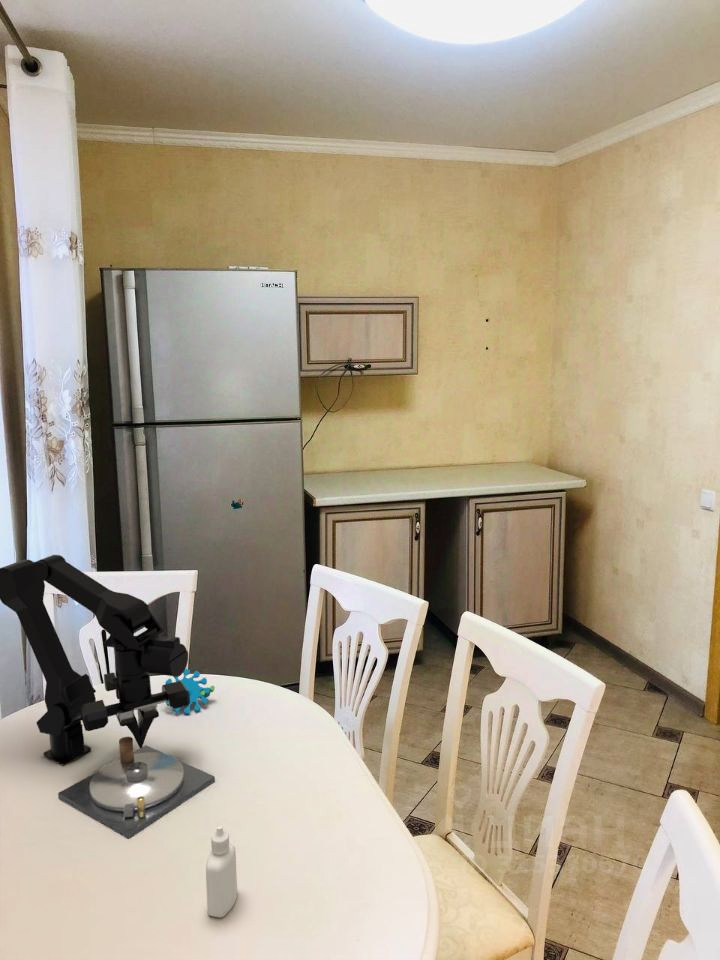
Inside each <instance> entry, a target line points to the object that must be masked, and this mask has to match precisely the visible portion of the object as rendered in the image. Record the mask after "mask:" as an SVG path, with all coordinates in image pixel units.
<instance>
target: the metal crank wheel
mask: <svg viewBox="0 0 720 960" xmlns="http://www.w3.org/2000/svg"><path fill="white" fill-rule="evenodd" d="M118 744H119V758H116V759H114V760H112V761H110V762H108V763H106V764H105V765H103V766H102V767H100V768H99V769H98V770H97V771H95V772H94V773H95V774H94V773H93V774H94V776H93V777H92V779H91V781H90V796H91V798H92V800H93V801H94V802H95V803H96V804H97V805H98V806H100V807H102V808H105V809H109V810H114V811H124V817H132V816H133V814H134V810H137V798H138V797H141V796H142V797H144V800H145V808H147V807H151V806H154V805H156V804H158V803H161V802H163V801H165V800H166V799H168V798H169V797H171V796H172V795H173V794H175V793H176V792H177V791H178V790H179V788H180V787H181V785H182V783H183V780H184V769H183V766H182V764H181V763H180V761H181V760H180V759H178V758H176V757H174V756H172V755H170V754H167V753H164V752H162V753H154V752H147V753H137V754H134V738H133V737H131V736H123V737H121V738H120V739H119V740H118ZM163 753H164V754H163ZM177 759H178V760H177ZM179 760H180V761H179Z"/></svg>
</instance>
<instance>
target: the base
mask: <svg viewBox="0 0 720 960" xmlns="http://www.w3.org/2000/svg"><path fill="white" fill-rule="evenodd" d="M133 752H134V754H137V753H147V752H154V753H163V754H165V753H164V752H162V751H160V750H158V749H156V748H153V747H151V746H150V745H146V744H144V745H143V746H142V748H137V749H136V750H133ZM176 759H177V760H179V761H180V763H181V764H182V766H183V769H184V780H183V783H182V785H181V787H180V788H179V790H178V791H177V792H176V793H175V794H173V795H172V796H171V797H169V798H168V799H166V800H165V801H163V802H161V803H158V804H156V805H154V806H151V807H147V808H145V800H144V797H142V796H141V797H138V798H137V810H134V814H133V816H132V817H124V811H114V810H109V809H105V808H102V807H100V806H98V805H97V804H96V803H95V802H94V801H93V800H92V798H91V796H90V781H91V779H92V777H93V776H94V774H95V773H96V772H94V773H92V774H91V775H88V776H86V777H85V778H83V779H81V780H79V781H77V782H76V783H74V784H72V785H70V786H69V787H67V788H65V789H63V790H61V791H60V792H57V796H58V799H59V800H61V801H63V802H64V803H65V804H68V805H70V806H71V807H73V808H75V809H76V810H77V811H80V812H81V813H83V814H85V815H87V816H88V817H90V818H91V819H94V820H95V821H97V822H99V823H101V824H103V825H104V826H105V827H108V828H109V829H111V830H113V831H114V832H116V833H118V834H120V835H121V836H123V837H125V838H127V839H130V838H131V837H134V836H135V835H136V834H138V833H139V832H141V831H142V830H144V829H145V828H147V827H149V826H150V825H151V824H153V823H154V822H156V821H157V820H159V819H161V818H162V817H164V816H165V815H167V814H169V813H170V812H171V811H172V810H174V809H175V808H178V807H179V806H180V805H182V804H183V803H185V802H187V801H188V800H189V799H191V798H192V797H194V796H195V795H196V794H199V792H201V791H202V790H204V789H206V788H207V787H209V786H210V785H212V784H213V783H215V781H216V779H215V777H216V776H214V775H213V774H211V773H208V772H206V771H203V770H202V769H199V768H197V767H195V766H193V765H191V764H188V763H187V762H185V761H181V760H180V759H178V758H176Z"/></svg>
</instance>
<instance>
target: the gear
mask: <svg viewBox="0 0 720 960" xmlns="http://www.w3.org/2000/svg"><path fill="white" fill-rule="evenodd" d="M190 672H191V670H190V669H187V668H185V670H184V672H183V673H182V674H183V677H182V678H181V679H179V677H180V676H178V677H175V676H172V677H173V678H174V679H175V682H177V681H181V682H182V683H183V684H184V685H185V687H186V688H187V690H188V691H189V695H190V704H189V705H188V706H186V708H184V709H183V714H184V715H186V716H187V715H190V713H191V705H192V704H195V705H194V709H193V711H194V712H199V711H201V709H202V708H201V705H200V704H199V702H198V699H201V704H202V705H206V704H207V703H208V701H209V699H208V698H209V697H210V696H211V693H214V691H215V688H216V687H215V685H210V687H208V686H207V687H202V686H200V684H201V685H207V683H208V681H207V680H208V679H207V678H206V677H202V679H200V680H194V679H197V678H200V676H201V673H200V672H199V671H198V670H195V671H194V673H193V675H192V676H191V677H188V678H187V676H188V675H190ZM169 683H173V680H172V678H168V679H167V680H166V681H165V683H164V685H165V684H169ZM165 703H166V704H165V705H166V706H167V707H168V706H169V707H170V705H169V701H168V702H165ZM181 708H182V707H180V708H176V709H174V708H172V710H173V712H175V713H176V714H177V713H179V711H180V709H181Z"/></svg>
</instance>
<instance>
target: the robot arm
mask: <svg viewBox="0 0 720 960" xmlns="http://www.w3.org/2000/svg"><path fill="white" fill-rule="evenodd" d="M45 582H46V583H47V584H49V585H50V586H52V587H53V588H55V589H57V590H58V591H60V592H61V593H62V594H64V595H65V596H67V597H69V598H70V599H71V600H73V601H75V602H77V604H79V605H81V606H82V607H84V608H85V609H87V610H88V611H89V612H91V613H92V614H94V616H95V617H96V620H97V622H98V625H99V626H100V627H101V628H102V629H103V630H104V631H105V632H107V634H108V635H109V636H108V638H107V639H106V640H105V641H103V643H102V645H103V647H105V648H106V647H107V648H113V652H114V653H113V654H114V662H115V663H114V664H115V670H116V671H115V672H116V673H115V672H109V673H105V674H104V673H103V681H104V689H105V691H106V692H110V691H111V692H112V691H115V695H116V696H115V697H116V699H117V700H119V702H117V703H112V704H108V705H105V702H104V700H103V699H99V700H96V695H95V693H96V692H97V690H96V689H95V688H94V687H93V685H92V682H91V679H90V676H89V675H88V673H84V674H83V675H81V674H79V673H78V672H77V671H75V670H74V669H73V667H72V666H71V663H70V660H69V658H68V656H67V654H66V652H65V649H64V647H63V645H62V642H61V640H60V637H59V636H58V633H57V630H56V628H55V626H54V624H53V622H52V619H51V617H50V614H49V612H48V610H47V607H46V605H45V602H44V597H45V591H46V589H45V587H46V584H45ZM0 601H1V603H2V604H3V605H4V606H6V607H7V608H9V610H12V611H13V612H14V613H15V614H16V615H17V618H18V619H19V623H20V625H21V627H22V629H23V631H24V634H25V636H26V638H27V640H28V643H29V645H30V647H31V649H32V652H33V654H34V657H35V659H36V661H37V663H38V666H39V668H40V670H41V673H42V675H43V677H44V679H45V682H46V683H45V689H44V690H45V692H44V698H43V699H44V702H45V707H46V710H47V711H45V713H44V714H43V715H42V716H41V717H40V718H39V719H38V720H37V722H36V726H37V729H38V730H39V733H40V734H45V735H49V746H50V747H49V748H50V749H48V750H46V751H44V752H43V754H42V755H43V757H46V758H48V759H49V760H50V761H53V762H55V763H57V764H58V765H61V766H64V765H67V764H68V763H70V762H73V761H74V760H76V759H78V758H80V757H82V756H84V755H86V754H88V753H90V752H92V747H90V746H88V745H86V744H85V740H84V739H85V737H84V732H83V731H84V730H85V732H91V731H96V730H99V729H103V728H105V727H106V726H107V725H108V723H109V717H112V716H116V719H117V722H118V724H119V726H120V727H127V729H128V730H129V731H130V732H131V734H132V735H133V737H134V740H135V742H136V743H137V746H138V747H139V748H142V747H143V746H144V745H145V744H144V743H145V740H146V738H147V734H148V733H149V730H150V727H151V726H152V723H153V721H154V720H155V719H156V718H159V716H160V713H159V711H158V705H160V704H164V703H166V702H168V701H169V707H170V708H172V709H173V708H174V709H176V708H180V707H181V708H184V707H188V705H189V704H190V695H189V691H188V690H187V688H186V687H185V685H184V684H183V683H182V682H181V681H177V682H176V681H174V682H173V681H172V683H169V684H165V683H164V684H162V685H161V691H160V692H157V693H152V689H151V688H152V687H151V676H150V674H153V675H161V676H167V677H168V676H169V677H173V676H175V677H178V676H179V677H180V676H182V675H183V674H184V673H183V672H184V670H185V669H187V665H188V661H189V651H188V650H187V647H186V646H185V645H184V644H183V643H181V639H180V637H178V636H172V637H171V636H162V635H163V634H164V632H165V631H164V629H163V627H162V626H161V625H160V623H159V622H158V620H157V619H156V618H155V616H154V614H153V613H152V612H151V611H150V609H149V608H150V607H149V605H148V603H146V601H144V600H142V599H140V598H139V597H135V596H134V595H131V594H129V593H125V592H124V593H123V592H117V591H113V590H111V589H109V588H107V587H106V586H104V585H103V584H101V583H100V582H98V581H97V580H95V579H93V577H90V576H89V575H88V574H86V573H84V572H83V571H82V570H80V569H79V568H77V567H75V566H73V565H72V564H70V563H69V562H67V560H66V559H65V557H63V555H60V554H51V555H49V556H47V557H44V558H41V559H39V560H36V561H34V560H30V559H27V558H26V559H22V560H19V561H16V562H13V563H11V564H8V565H6V566H5V565H4V566H3V567H0ZM144 628H145V629H146V630H144V631H142V632H141V633H140V634H137V635H134V634H136V633H137V632H139V631H141V630H142V629H144ZM179 677H178V678H179ZM181 708H180V709H181ZM135 711H137V718H138V719H137V718H136V715H135ZM83 727H84V730H83ZM139 748H138V749H139Z"/></svg>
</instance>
